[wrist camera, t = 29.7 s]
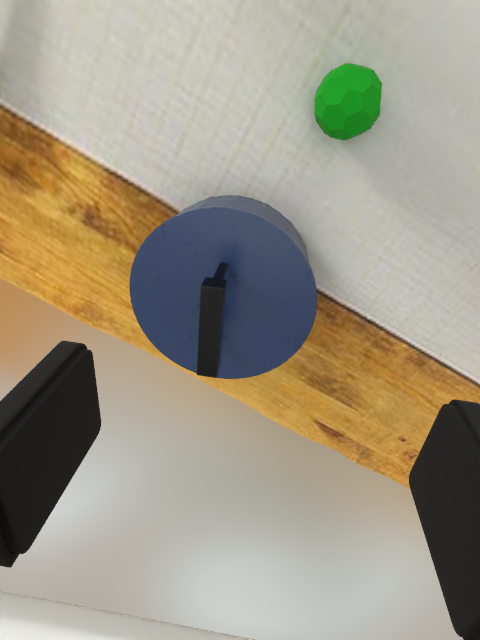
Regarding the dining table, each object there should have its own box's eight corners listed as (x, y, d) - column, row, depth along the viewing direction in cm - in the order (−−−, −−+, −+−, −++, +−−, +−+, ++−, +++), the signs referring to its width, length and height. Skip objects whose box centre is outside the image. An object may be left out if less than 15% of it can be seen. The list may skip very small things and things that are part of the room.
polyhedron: (388, 106, 30) (403, 106, 26) (336, 150, 32) (342, 156, 28) (352, 50, 29) (362, 40, 25) (300, 100, 31) (302, 98, 27)
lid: (335, 217, 29) (344, 243, 24) (299, 383, 38) (299, 431, 32) (129, 192, 30) (91, 211, 25) (137, 359, 39) (111, 401, 33)
